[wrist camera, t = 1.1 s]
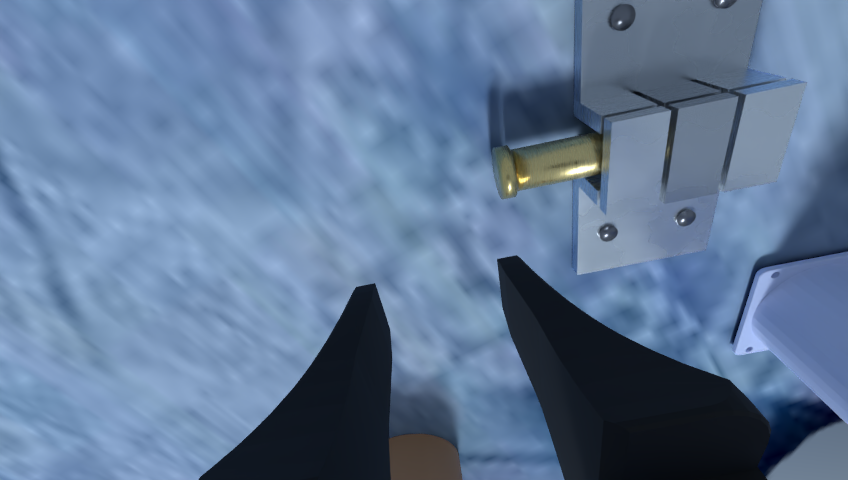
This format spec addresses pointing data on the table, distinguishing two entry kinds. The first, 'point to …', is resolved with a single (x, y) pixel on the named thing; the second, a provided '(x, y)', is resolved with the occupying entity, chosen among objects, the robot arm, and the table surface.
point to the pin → (546, 163)
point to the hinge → (670, 123)
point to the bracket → (423, 458)
